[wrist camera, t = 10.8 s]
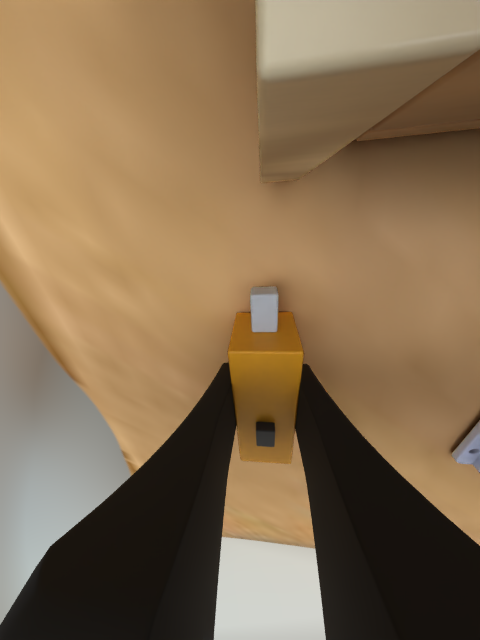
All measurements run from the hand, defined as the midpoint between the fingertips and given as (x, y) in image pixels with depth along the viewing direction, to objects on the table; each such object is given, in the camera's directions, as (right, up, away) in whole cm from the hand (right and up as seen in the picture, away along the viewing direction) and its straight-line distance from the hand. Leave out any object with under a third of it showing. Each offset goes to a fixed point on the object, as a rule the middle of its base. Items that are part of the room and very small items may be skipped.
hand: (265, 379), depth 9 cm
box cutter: (0, +1, +1) cm, 1 cm away
